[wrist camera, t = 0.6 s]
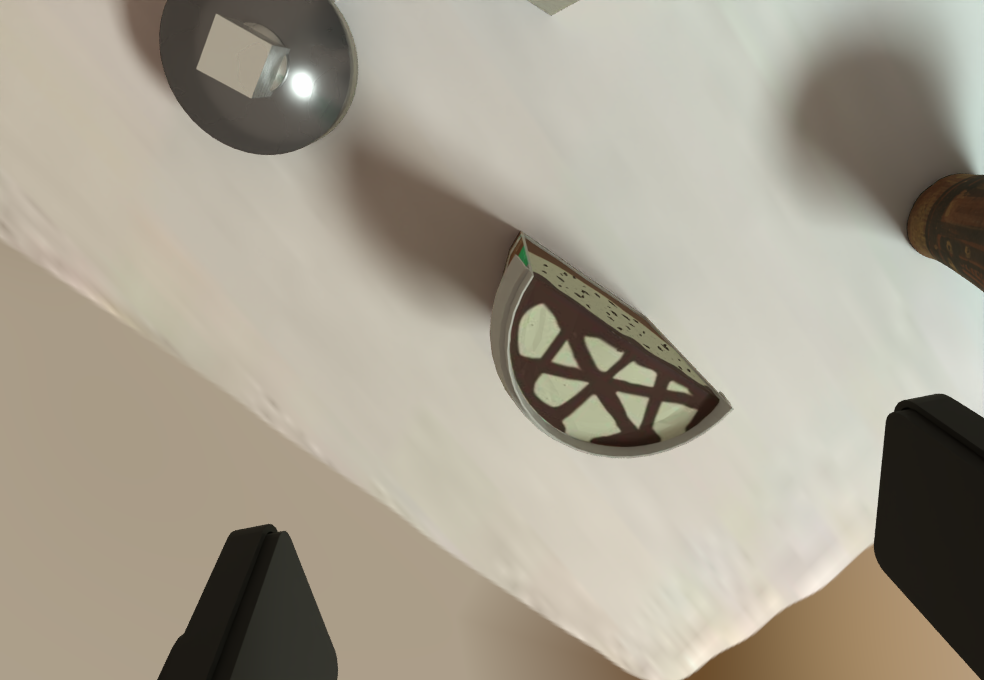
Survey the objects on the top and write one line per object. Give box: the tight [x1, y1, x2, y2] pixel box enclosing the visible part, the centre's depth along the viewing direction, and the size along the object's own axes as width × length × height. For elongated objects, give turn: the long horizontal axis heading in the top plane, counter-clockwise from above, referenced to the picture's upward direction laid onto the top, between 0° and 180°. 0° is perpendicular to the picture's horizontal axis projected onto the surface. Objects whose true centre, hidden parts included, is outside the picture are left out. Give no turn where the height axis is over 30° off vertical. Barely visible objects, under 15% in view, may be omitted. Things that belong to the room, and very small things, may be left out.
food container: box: [490, 231, 733, 458], centre depth 31 cm, size 12×6×10 cm, turn 55°
